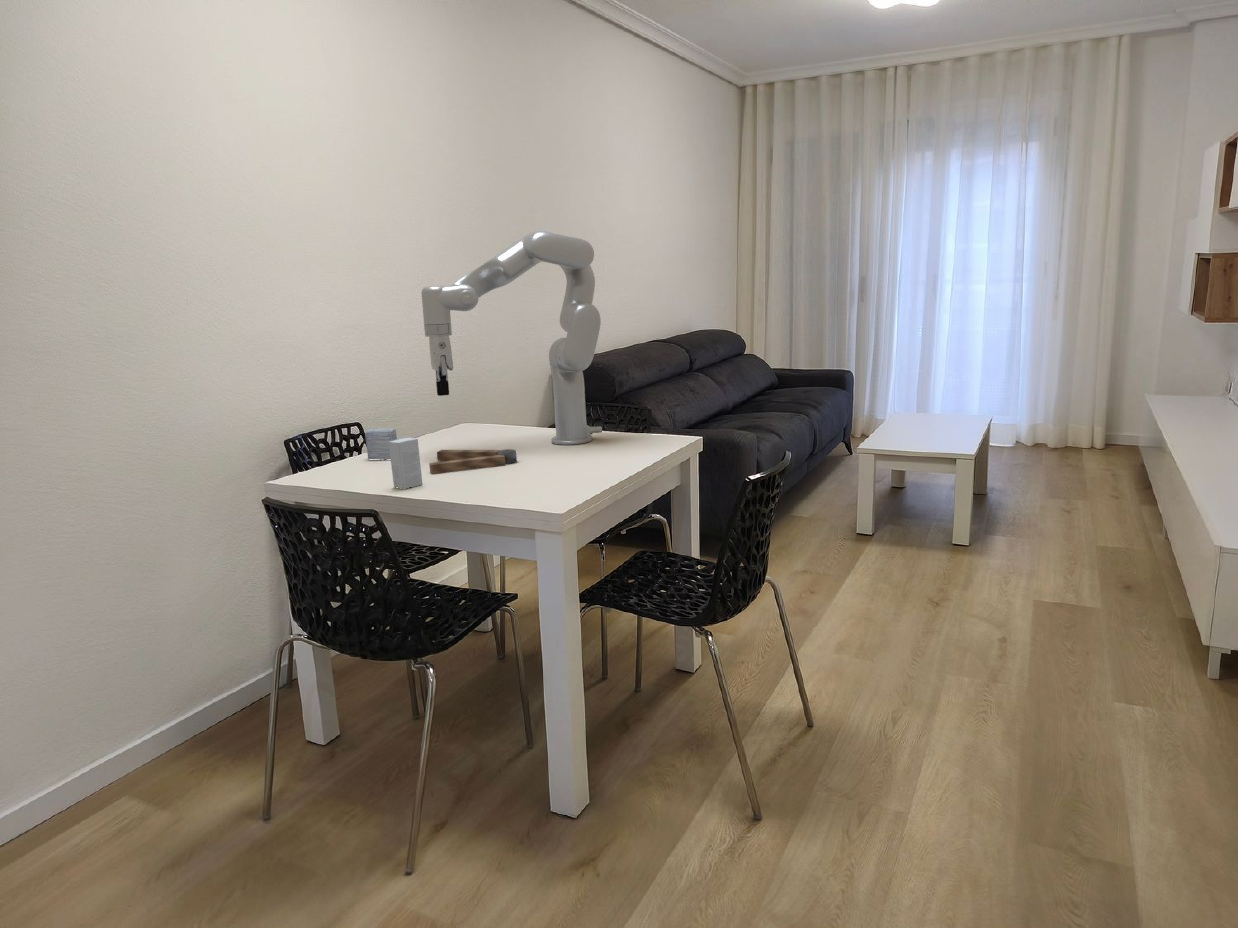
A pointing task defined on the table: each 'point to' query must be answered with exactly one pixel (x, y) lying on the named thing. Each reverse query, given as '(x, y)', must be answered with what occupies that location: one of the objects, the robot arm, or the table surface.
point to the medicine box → (379, 443)
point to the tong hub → (475, 462)
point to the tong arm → (463, 454)
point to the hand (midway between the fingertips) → (443, 395)
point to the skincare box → (405, 463)
